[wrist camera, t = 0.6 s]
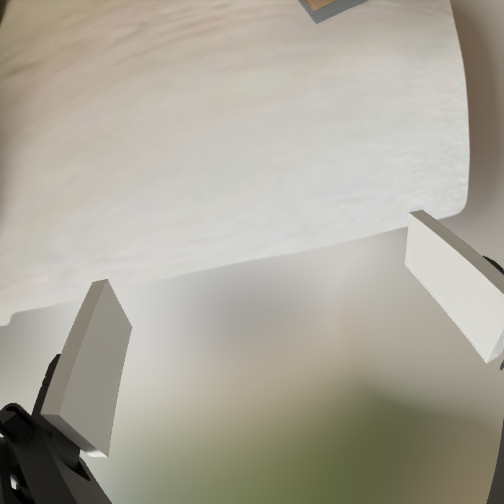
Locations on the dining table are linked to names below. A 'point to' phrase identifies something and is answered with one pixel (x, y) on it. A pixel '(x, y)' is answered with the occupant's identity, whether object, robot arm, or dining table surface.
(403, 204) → the dining table surface
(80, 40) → the dining table surface
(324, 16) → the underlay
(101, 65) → the dining table surface
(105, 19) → the dining table surface
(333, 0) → the laid board
